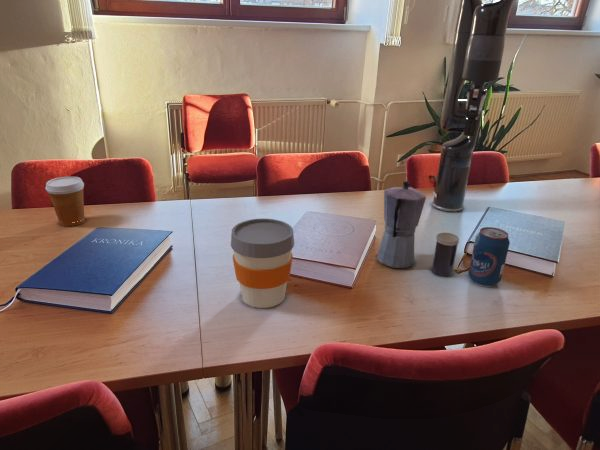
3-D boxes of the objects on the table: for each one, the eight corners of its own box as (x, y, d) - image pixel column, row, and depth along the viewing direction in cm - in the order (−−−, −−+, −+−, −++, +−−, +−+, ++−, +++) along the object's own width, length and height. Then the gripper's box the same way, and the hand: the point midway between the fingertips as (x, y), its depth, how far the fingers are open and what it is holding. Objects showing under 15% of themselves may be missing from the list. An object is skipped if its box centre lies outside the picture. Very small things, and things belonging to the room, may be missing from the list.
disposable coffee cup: (45, 225, 122) (35, 184, 117) (73, 213, 130) (65, 174, 125) (71, 231, 119) (62, 189, 114) (98, 218, 127) (91, 178, 122)
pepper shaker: (432, 264, 106) (438, 231, 103) (453, 269, 105) (460, 234, 101) (429, 274, 102) (435, 239, 99) (451, 278, 101) (458, 243, 97)
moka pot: (418, 251, 113) (430, 176, 105) (412, 280, 99) (424, 197, 91) (381, 245, 115) (389, 171, 107) (370, 273, 102) (378, 191, 94)
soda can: (462, 280, 100) (471, 232, 95) (474, 269, 105) (484, 223, 100) (492, 292, 96) (504, 242, 91) (504, 280, 100) (516, 232, 96)
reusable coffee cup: (270, 320, 85) (270, 251, 79) (220, 300, 91) (216, 233, 85) (304, 291, 94) (306, 227, 88) (257, 274, 100) (256, 213, 94)
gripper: (501, 60, 89) (485, 140, 96) (502, 57, 101) (488, 128, 108) (462, 58, 92) (449, 136, 98) (468, 55, 104) (456, 125, 110)
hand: (470, 132), depth 103 cm, fingers open, 8 cm apart
